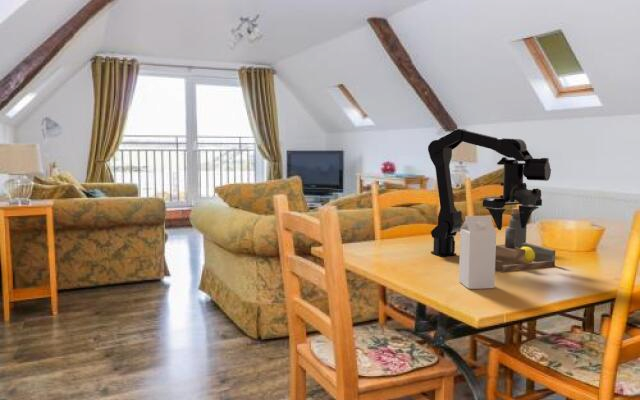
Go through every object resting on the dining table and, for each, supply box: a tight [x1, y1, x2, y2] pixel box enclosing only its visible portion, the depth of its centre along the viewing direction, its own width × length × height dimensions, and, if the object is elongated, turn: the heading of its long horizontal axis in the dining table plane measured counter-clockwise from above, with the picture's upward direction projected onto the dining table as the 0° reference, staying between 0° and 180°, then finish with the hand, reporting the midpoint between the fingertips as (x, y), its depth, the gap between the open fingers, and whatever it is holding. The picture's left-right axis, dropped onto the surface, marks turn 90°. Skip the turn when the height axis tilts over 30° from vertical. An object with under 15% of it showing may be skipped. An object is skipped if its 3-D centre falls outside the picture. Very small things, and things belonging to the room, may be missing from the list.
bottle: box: [508, 207, 528, 248], centre depth 182 cm, size 6×6×15 cm
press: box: [495, 242, 556, 273], centre depth 160 cm, size 21×13×5 cm, turn 110°
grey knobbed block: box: [495, 227, 525, 265], centre depth 159 cm, size 4×9×11 cm, turn 20°
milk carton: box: [458, 215, 497, 290], centre depth 135 cm, size 7×7×19 cm
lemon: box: [521, 247, 535, 263], centre depth 161 cm, size 7×5×5 cm
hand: (511, 229), depth 158 cm, fingers open, 9 cm apart
